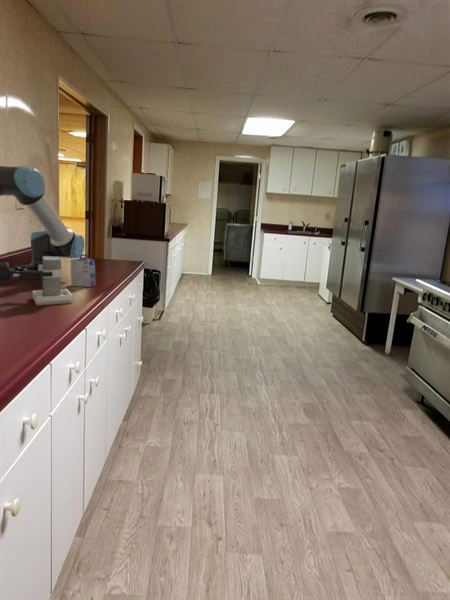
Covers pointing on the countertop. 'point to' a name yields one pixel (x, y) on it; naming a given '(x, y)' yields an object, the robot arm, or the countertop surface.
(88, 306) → the countertop surface
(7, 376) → the countertop surface
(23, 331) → the countertop surface
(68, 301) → the tray
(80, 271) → the ink cartridge box
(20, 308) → the countertop surface
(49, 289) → the skincare box
